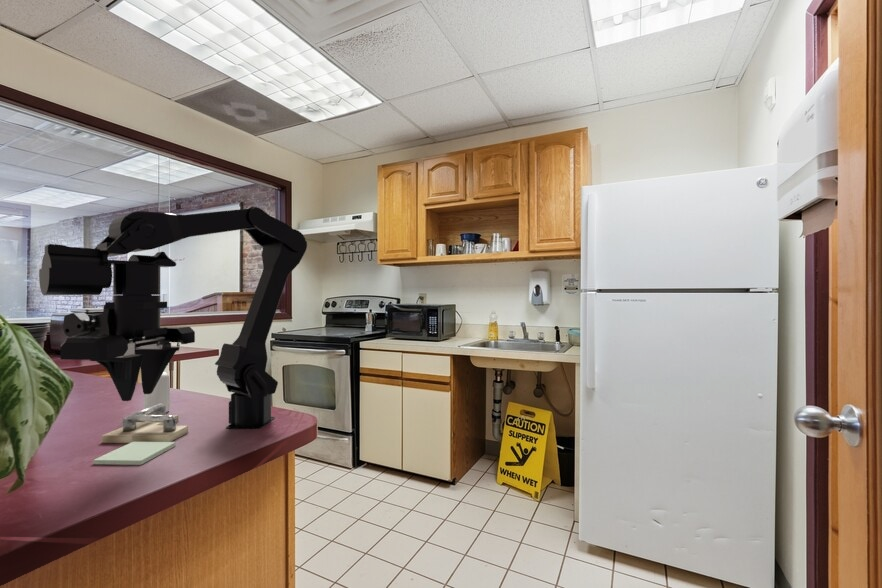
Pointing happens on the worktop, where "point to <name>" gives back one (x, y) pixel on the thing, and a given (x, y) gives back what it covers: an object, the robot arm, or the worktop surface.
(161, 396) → the eye dropper bottle
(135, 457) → the pad
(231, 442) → the worktop surface
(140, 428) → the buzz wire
